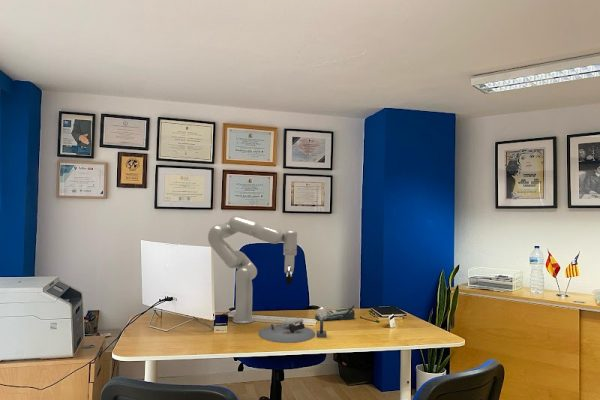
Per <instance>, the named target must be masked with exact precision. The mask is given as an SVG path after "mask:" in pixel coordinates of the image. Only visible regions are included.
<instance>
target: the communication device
mask: <svg viewBox="0 0 600 400" xmlns="http://www.w3.org/2000/svg"><path fill="white" fill-rule="evenodd" d="M354 308H355V305H353V306H351V307H348V308H346V307H344V308H337V309H330V310H329V311H327V312H328V316H327V318H326V319H324V320H323V322H326V321H333V320H340V321H343V320H344V321H345V320H346V321H347V320H353V319H355V310H354ZM314 319H315V321H318V322H320V319H319V318H318V317H317V316H316V314H314Z"/></svg>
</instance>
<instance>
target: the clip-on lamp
mask: <svg viewBox="0 0 600 400" xmlns="http://www.w3.org/2000/svg"><path fill="white" fill-rule="evenodd" d="M273 325H274V326H273ZM275 325H278V326H280V325H281V324H278V323H275V324H273V323H271V324H270V326H271V327H272V330H275ZM283 325H284V326H285V327H287V328H290V332H292V333H294V331H297V330H300V329H304V328H305V327H306V326H305V324H304V319H303V318H302V317H296V318H293V319H292V318H286V319H285V320H284V322H283ZM280 327H282V326H280ZM285 327H282V328H285Z"/></svg>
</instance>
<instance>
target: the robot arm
mask: <svg viewBox="0 0 600 400" xmlns="http://www.w3.org/2000/svg"><path fill="white" fill-rule="evenodd" d="M237 233H241V234H245V235H248V236H251V237H253V238H255V239H258V240H260V241H262V242H263V241H264V242H267V243H268V244H269V243H270V244H274V245H275V244H276V245H277V244H280V243H283V253H282V254H283V256H284V271H283V272H284V274H286V276H285V284H286V285H292V283H293V281H294V280H293V279H294V278H293V276H294V275H293V273H294V268H295V257H296V256H297V254H298V251H297V249H298V246H297V245H298V232H297V231H296V230H282V229H272V228H268V227H265V226H263V225H261V224H260V223H259V222H257V221H255V220H251V219H247V218H246V217H245V216H243V215H234V216H232V217H230V219H229V220H228V221H227V222H225V223H223V224H221V223H220V224H215V225H213V226H212V227H211V228H210V229H209V231H208V235H207V240H208V241H207V242H208V244H209V245H210V246H211V248H212V250H213V251H214V252H215V253H216V255H218V257H219V258H220V259H221V260H222V261H223V262H224V264H225V266H227V267H228V268H230V269H237V270H236V271H235V275H234V279H235V312H233V313H232V312H228V313H227V317H228V318H232V322H233V323H235V324H241V325H242V324H252V323H253V322H255V317H253V281H252V280H253V279H255V278H256V276H257V275H258V268H257V267H256V266H255V264H254V263H253V262H252V261H251V260H250V258H249V257H248V256H247V255H246V254H245V252H242V251H240V250H234V249H233V248H232V246H231V245H230V244H229V243H228V242H227V241H226V240H224V239H227V238H229V237H231V236H233V235H235V234H237ZM252 317H253V318H252Z"/></svg>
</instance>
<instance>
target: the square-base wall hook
mask: <svg viewBox="0 0 600 400" xmlns="http://www.w3.org/2000/svg"><path fill="white" fill-rule="evenodd" d="M328 312H329V311H328V310H327V309H326V308H325V307H318V308H317V310H316V312H315V315H316V316H317V317H318V318H319V319H320V321H319V330H316V331H315V336H316V338H318V339H319V338H324V339H325V338H327V335H328V334H327V330H324V321H323V320H324V319H326V318H327V316H328Z"/></svg>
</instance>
